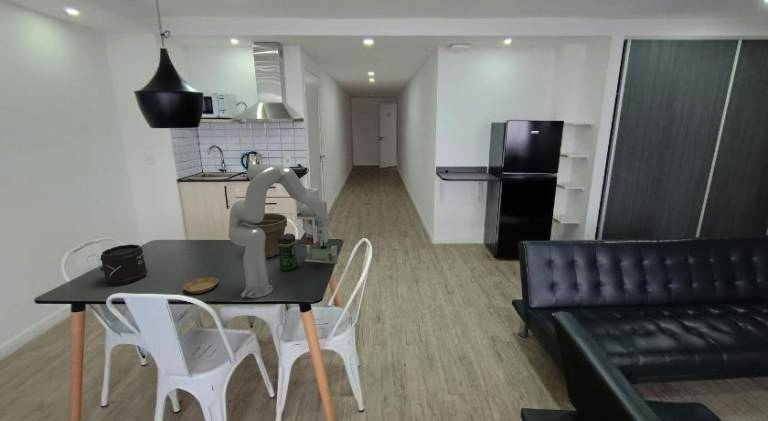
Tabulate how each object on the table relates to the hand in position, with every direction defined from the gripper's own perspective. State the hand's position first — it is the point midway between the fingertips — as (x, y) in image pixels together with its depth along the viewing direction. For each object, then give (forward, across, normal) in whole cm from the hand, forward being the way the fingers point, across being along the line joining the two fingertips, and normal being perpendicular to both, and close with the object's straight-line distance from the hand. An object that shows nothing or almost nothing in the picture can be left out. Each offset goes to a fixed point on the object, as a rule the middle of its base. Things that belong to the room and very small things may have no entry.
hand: (323, 252), depth 198 cm
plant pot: (+3, +8, +35) cm, 36 cm away
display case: (+4, +25, +13) cm, 28 cm away
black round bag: (+2, -24, +97) cm, 100 cm away
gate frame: (+3, -5, +1) cm, 6 cm away
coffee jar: (+3, -13, +17) cm, 22 cm away
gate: (+2, -3, 0) cm, 4 cm away
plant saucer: (+2, -36, +53) cm, 64 cm away
